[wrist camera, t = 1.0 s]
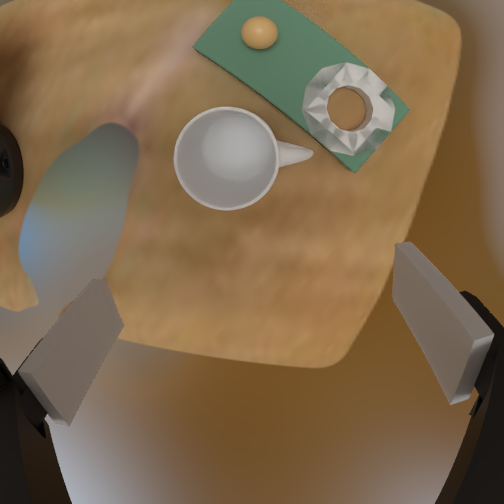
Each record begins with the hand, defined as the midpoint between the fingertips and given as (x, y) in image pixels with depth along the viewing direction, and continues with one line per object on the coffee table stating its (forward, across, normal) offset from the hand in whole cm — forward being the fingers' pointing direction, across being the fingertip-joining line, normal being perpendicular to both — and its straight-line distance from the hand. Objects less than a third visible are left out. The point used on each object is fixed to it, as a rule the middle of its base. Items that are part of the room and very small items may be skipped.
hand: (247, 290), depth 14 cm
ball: (+20, +3, +16) cm, 26 cm away
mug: (+25, 0, +4) cm, 25 cm away
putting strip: (+24, +7, +11) cm, 28 cm away
